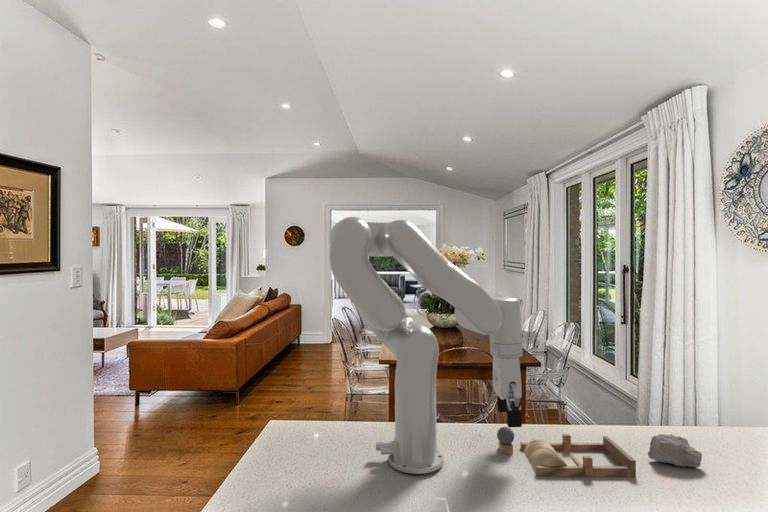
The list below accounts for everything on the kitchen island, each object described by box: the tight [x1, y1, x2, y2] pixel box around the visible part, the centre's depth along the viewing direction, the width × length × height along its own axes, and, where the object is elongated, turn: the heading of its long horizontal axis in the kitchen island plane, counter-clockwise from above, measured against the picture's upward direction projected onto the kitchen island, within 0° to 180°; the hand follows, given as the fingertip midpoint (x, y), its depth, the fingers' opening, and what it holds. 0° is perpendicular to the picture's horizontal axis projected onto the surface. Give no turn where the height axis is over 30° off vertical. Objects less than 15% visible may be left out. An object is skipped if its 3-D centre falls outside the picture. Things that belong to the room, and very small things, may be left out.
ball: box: [496, 426, 515, 445], centre depth 108 cm, size 4×4×4 cm
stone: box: [647, 433, 703, 468], centre depth 101 cm, size 8×10×6 cm
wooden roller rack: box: [520, 433, 637, 478], centre depth 102 cm, size 21×13×9 cm, turn 88°
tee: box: [498, 440, 514, 455], centre depth 108 cm, size 3×3×2 cm
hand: (509, 418), depth 108 cm, fingers open, 9 cm apart
